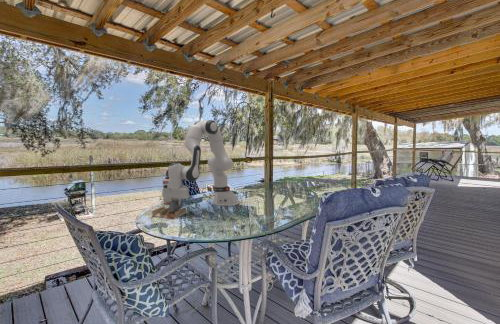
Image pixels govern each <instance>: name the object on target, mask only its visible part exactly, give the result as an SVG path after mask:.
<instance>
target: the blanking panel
mask: <svg viewBox="0 0 500 324" xmlns="http://www.w3.org/2000/svg"><path fill="white" fill-rule="evenodd" d="M177 202H179V200H178V199H175V200H172V201H170V202H169V203H170V204H169V207H170V211H171V212H174V211H176V210H178V209H179V210H180V209H182V208H184V205H183V199H182V200H181V202H180V205H177Z"/></svg>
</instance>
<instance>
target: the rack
mask: <svg viewBox="0 0 500 324" xmlns="http://www.w3.org/2000/svg"><path fill="white" fill-rule="evenodd" d="M187 213H188V211H187V207H184V206H183V207H182V208H180V209H178V210H176V211H174V212H171V211H170V206H169V207H167V208H166V206H165V205H163V206H160V207H159V208H156V209H154V210H152V212H151V214H152V215H151V218H159V219H162V218H164V219H168V220H173V219H177V218H179V217H180V216H183V215H185V214H187Z"/></svg>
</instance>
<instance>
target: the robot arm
mask: <svg viewBox="0 0 500 324" xmlns="http://www.w3.org/2000/svg"><path fill="white" fill-rule="evenodd" d="M203 135H204V136H205V135H207V137H208V143H209V147H210V151H211V152H210V153H212V154H213V155H214V156H212V157H211V156H210V158H208V160H207V166H208V168H210V170H211V172H212V173H211V174H212V176H213V177H212V178H213V193H214V194H213V202H212V204H213V205H215V206H219V207H220V206H223V207H224V206H225V207H228V206H229V207H231V206H237V205H239V204H240V200H238V197H237V195H236V194H235V193H234V192H232V191H231V186H228V176H227V174H225V171H229V170H231V169H232V168H233V165H234V161H233V160H232V158H231V157H229V155H228V153H227V151H226V149H225V146H224V145H225V144H224V141H223V136H222V132H221V130H220V128H219V126H218V123H217V121H215V120H213V119H204V120H201V121H200V120H199V121H196V122H195V123H193V124H192V125H190V127H189V128H188V130H187V132H186V135H185V140H184V147H185V148H186V149H187V151H189V152H190V153H191V161H190V166H186V165H184V164H181V163H180V162H171V163H170V164H169V165H168V171H167V172H168V179H169V183H168V184H166V185H163V184H162V193H161V194H162V198H163V199H164V198H170V200H171V201H172V200H173V199H174V198H175V199H178V200H179V202H177V205H180V202H181V200H182V201H183V200H188V199H189V198H190V191H189V189H190V188H189V187H188V186H187V185H182V180H186V181H190V182H196V181H197V180H198V179H199V177H200V165H201V164H200V163H201V153H202V149H201V140H202V136H203ZM163 188H164V189H163Z"/></svg>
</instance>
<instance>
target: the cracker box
mask: <svg viewBox="0 0 500 324" xmlns="http://www.w3.org/2000/svg"><path fill="white" fill-rule="evenodd" d="M168 183H169V178H165V179H163V180H162V186H163V185H166V184H168ZM163 189H164V188H163V187H162V190H163ZM173 200H175V198H174V199H173ZM170 201H171V200H170V198H163V204H164V205H170V203H169V202H170Z"/></svg>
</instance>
